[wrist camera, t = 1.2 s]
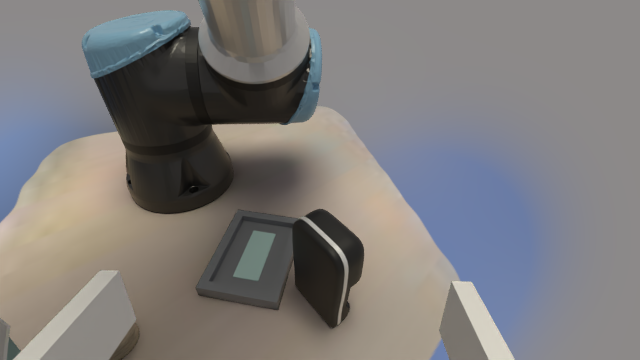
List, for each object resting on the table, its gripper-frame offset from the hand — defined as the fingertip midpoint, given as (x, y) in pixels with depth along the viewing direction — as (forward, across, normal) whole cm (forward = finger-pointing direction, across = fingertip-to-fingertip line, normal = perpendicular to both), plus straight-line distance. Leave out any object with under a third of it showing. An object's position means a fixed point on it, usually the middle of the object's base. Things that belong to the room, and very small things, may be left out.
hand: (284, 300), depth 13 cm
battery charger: (+16, +2, -17) cm, 23 cm away
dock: (+21, -7, -15) cm, 27 cm away
